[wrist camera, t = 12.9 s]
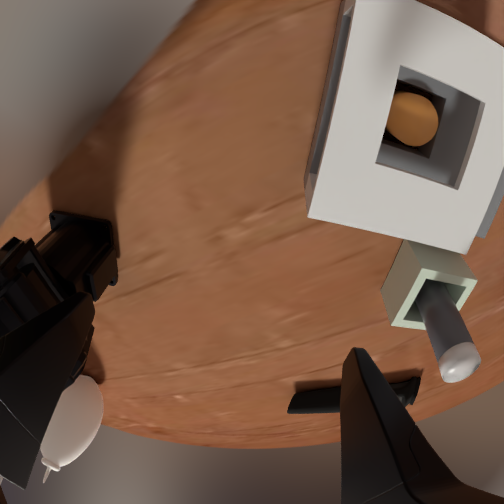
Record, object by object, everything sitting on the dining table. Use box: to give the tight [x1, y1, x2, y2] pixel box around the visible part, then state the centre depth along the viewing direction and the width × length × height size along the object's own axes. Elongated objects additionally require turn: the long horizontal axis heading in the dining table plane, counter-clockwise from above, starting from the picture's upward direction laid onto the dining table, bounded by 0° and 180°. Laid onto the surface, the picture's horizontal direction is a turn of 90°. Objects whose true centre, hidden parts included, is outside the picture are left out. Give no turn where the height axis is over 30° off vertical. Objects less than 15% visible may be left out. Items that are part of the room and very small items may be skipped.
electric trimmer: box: [287, 377, 421, 414], centre depth 31 cm, size 4×16×3 cm, turn 97°
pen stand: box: [380, 239, 478, 330], centre depth 21 cm, size 5×5×4 cm
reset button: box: [385, 90, 438, 146], centre depth 16 cm, size 3×3×3 cm
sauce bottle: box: [40, 375, 103, 483], centre depth 31 cm, size 8×8×18 cm
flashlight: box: [415, 279, 481, 383], centre depth 19 cm, size 3×3×10 cm
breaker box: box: [304, 0, 504, 255], centre depth 15 cm, size 14×12×6 cm
